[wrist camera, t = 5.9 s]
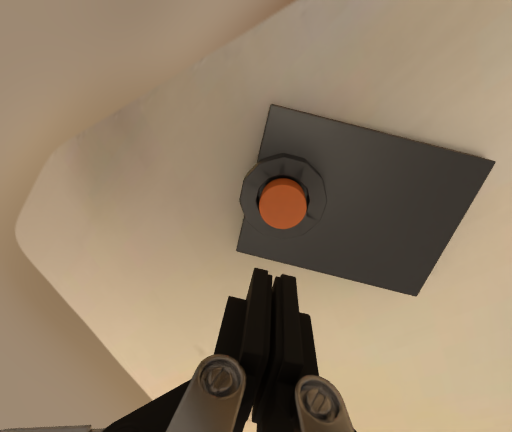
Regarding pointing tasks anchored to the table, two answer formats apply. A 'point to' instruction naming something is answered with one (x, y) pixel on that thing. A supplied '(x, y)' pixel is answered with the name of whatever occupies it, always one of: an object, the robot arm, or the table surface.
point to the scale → (359, 200)
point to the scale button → (282, 203)
